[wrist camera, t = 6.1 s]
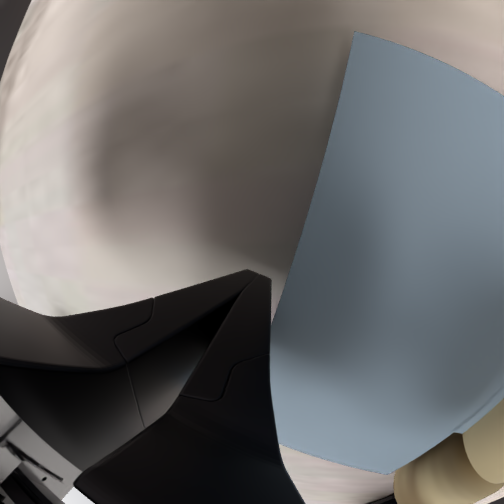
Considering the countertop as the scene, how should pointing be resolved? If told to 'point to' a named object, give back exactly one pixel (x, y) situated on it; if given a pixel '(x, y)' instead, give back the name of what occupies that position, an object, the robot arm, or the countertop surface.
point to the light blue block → (398, 273)
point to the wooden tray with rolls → (442, 477)
